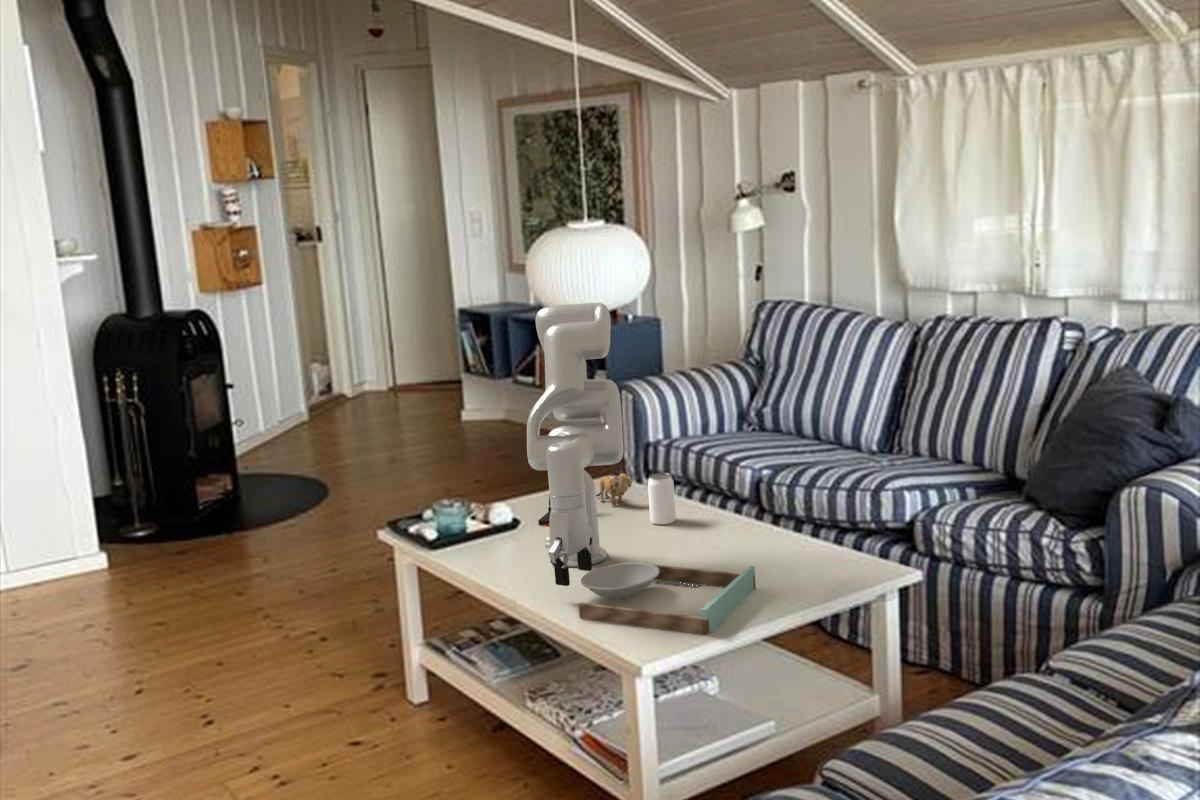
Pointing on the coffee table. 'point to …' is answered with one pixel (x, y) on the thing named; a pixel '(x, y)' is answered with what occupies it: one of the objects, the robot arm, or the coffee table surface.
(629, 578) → the dish
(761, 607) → the coffee table surface
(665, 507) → the can
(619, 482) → the lion figurine
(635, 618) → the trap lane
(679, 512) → the coffee table surface
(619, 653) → the coffee table surface
